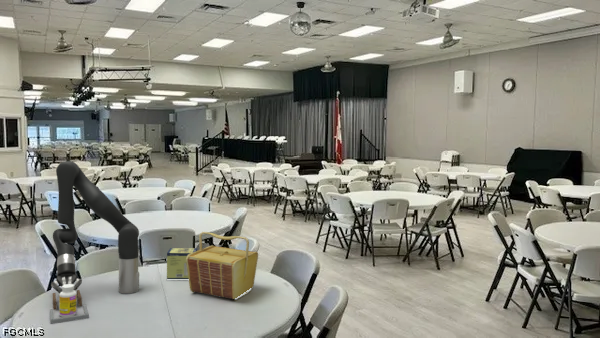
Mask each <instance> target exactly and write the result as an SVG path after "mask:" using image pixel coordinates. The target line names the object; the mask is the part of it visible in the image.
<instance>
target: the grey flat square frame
mask: <svg viewBox="0 0 600 338" xmlns="http://www.w3.org/2000/svg"><path fill="white" fill-rule="evenodd" d="M82 309H83V312H84V314H77V315H76V314H75V315H73V316H69V317H59V318H58V317H57V318H55V316H54V310H53V308H49V317H50V318H49V319H50V322H49V323H50V325H52V324H58V323H65V322H72V321H78V320H79V321H80V320H84V319H89V318H90V313H89V310H88V307H87V304H83V305H82Z"/></svg>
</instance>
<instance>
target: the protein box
mask: <svg viewBox="0 0 600 338" xmlns="http://www.w3.org/2000/svg"><path fill="white" fill-rule="evenodd" d="M196 251H198V248H197V247H196V248H194V247H189V248H186V247H183V248H181V247H180V248H178V247H177V248H175V247H174V248H173V247H172V248H171V247H170V248H169V250H168V251H167V253H166V280H167V279H188V272H187V265H186V257H187V256H188V255H189V254H190V253H193V252H196Z"/></svg>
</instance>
